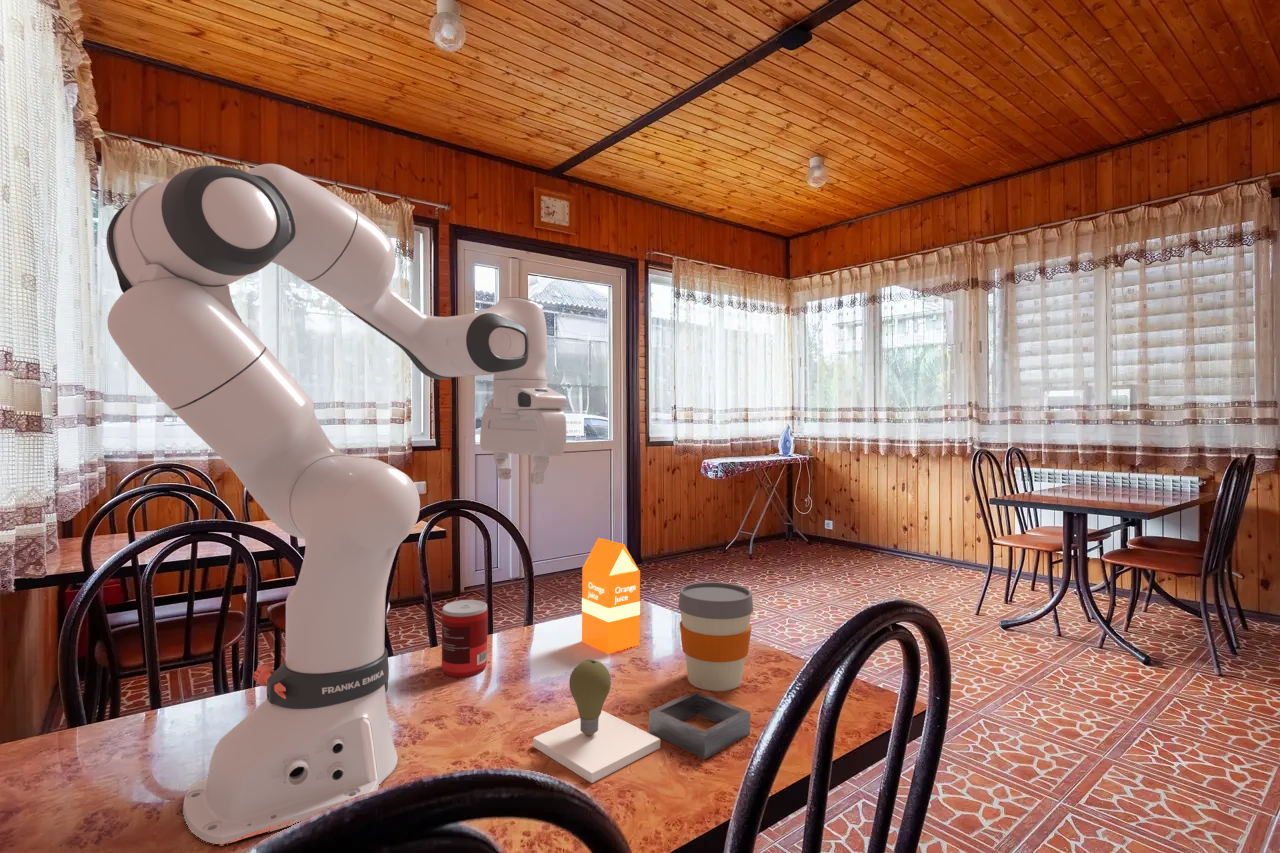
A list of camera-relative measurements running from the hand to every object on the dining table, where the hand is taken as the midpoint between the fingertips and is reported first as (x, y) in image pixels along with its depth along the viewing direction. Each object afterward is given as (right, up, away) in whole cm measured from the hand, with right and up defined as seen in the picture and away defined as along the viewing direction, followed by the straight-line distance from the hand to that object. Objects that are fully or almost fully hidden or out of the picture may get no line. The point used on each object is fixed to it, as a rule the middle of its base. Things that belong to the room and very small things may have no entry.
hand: (520, 481), depth 107 cm
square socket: (+28, -34, -17) cm, 47 cm away
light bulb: (+13, -33, -20) cm, 41 cm away
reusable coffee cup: (+33, -34, +1) cm, 47 cm away
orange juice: (+14, -33, +18) cm, 41 cm away
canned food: (-11, -33, +5) cm, 35 cm away
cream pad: (+14, -34, -21) cm, 42 cm away
